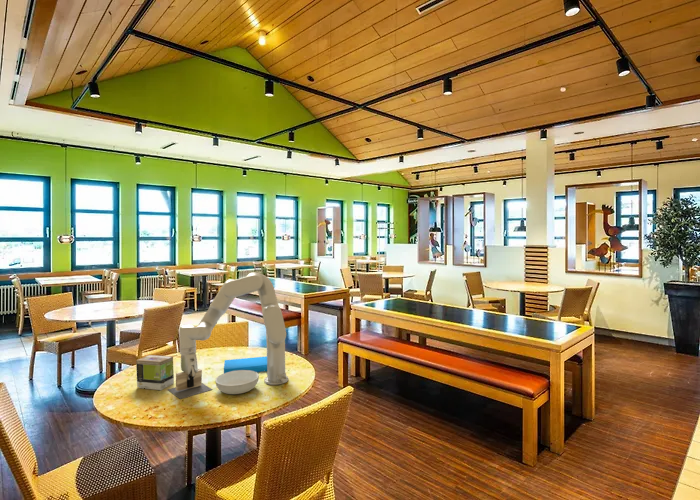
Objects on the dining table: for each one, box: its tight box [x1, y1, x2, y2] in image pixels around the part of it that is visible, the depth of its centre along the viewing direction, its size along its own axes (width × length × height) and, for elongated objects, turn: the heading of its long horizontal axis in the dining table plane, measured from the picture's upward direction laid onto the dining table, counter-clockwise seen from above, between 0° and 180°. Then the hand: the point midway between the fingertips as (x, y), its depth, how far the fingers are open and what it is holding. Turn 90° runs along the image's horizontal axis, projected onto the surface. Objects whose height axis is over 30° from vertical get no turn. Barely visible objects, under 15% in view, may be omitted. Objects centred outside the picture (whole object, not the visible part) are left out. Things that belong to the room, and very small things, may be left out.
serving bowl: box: [214, 370, 259, 395], centre depth 203 cm, size 21×21×7 cm
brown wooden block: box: [175, 368, 203, 391], centre depth 204 cm, size 3×12×8 cm, turn 134°
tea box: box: [135, 354, 175, 391], centre depth 210 cm, size 15×10×15 cm
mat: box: [167, 382, 213, 400], centre depth 203 cm, size 16×16×1 cm
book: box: [223, 355, 267, 374], centre depth 235 cm, size 17×4×25 cm
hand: (189, 385), depth 204 cm, fingers closed on brown wooden block, 2 cm apart
